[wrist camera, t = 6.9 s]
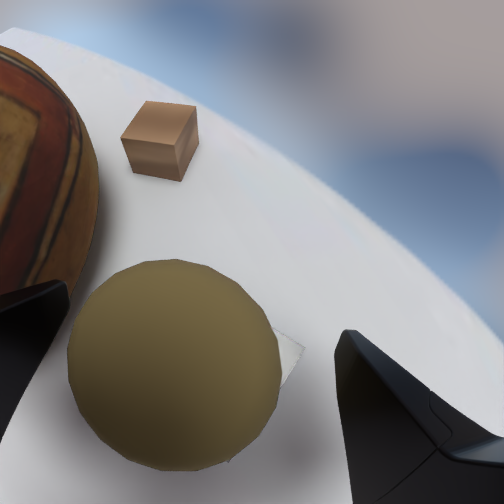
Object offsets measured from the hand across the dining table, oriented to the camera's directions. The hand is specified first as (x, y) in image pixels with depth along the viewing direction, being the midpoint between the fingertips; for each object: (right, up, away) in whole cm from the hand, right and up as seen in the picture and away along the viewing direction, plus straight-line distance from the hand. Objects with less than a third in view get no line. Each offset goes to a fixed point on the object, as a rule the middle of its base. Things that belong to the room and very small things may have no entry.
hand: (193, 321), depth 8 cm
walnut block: (-5, +9, +13) cm, 17 cm away
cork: (-1, -4, +7) cm, 8 cm away
